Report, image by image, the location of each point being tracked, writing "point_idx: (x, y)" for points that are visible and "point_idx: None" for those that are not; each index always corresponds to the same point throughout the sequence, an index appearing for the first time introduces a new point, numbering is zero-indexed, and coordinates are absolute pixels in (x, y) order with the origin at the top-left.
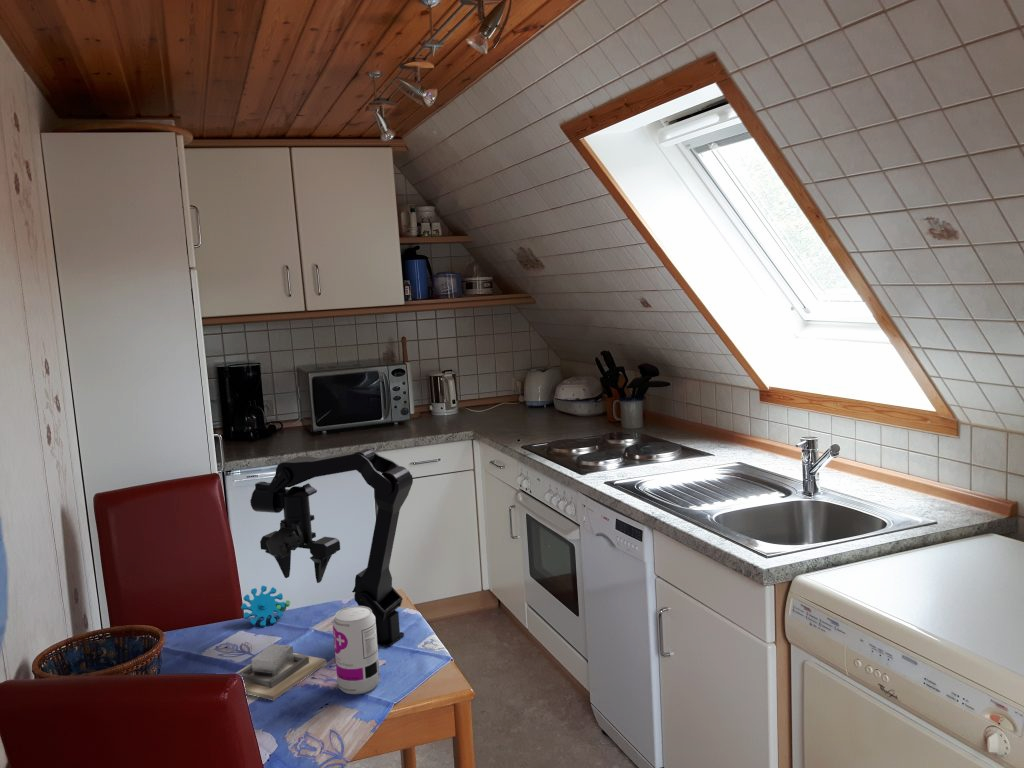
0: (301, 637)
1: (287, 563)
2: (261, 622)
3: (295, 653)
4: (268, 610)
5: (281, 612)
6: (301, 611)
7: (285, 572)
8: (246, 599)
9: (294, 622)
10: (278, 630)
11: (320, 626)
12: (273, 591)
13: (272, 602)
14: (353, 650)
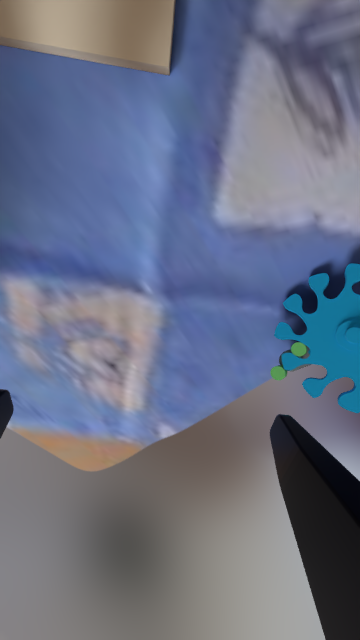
0: (151, 235)
1: (318, 545)
2: (325, 280)
3: (47, 43)
4: (325, 325)
5: (280, 335)
6: (244, 376)
7: (297, 450)
8: None
9: (230, 320)
10: (253, 265)
11: (141, 313)
12: (346, 396)
13: (327, 356)
14: None
